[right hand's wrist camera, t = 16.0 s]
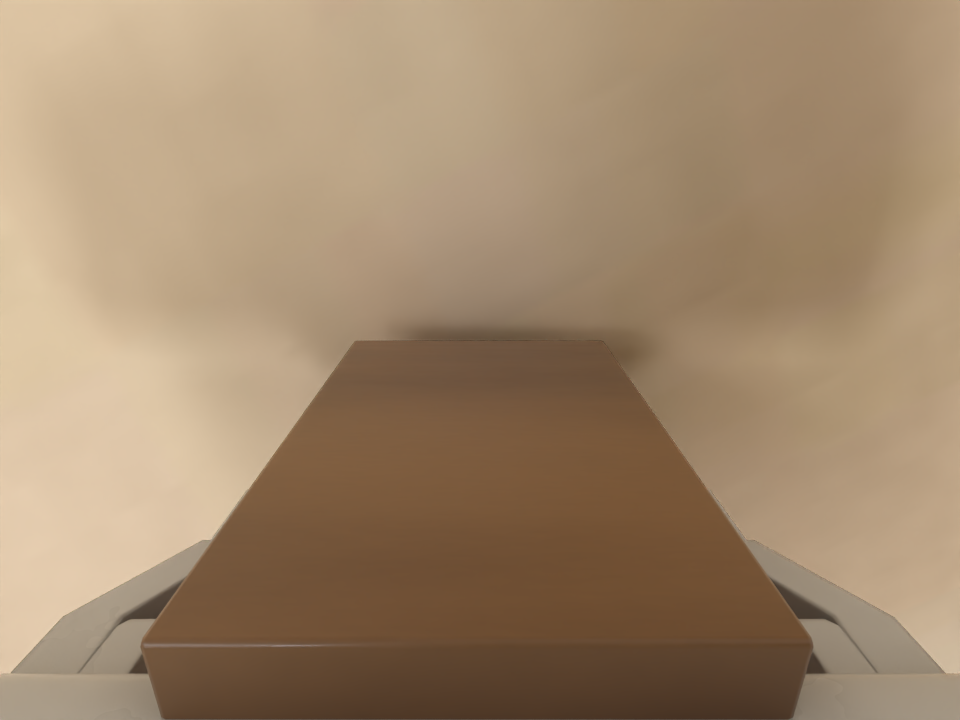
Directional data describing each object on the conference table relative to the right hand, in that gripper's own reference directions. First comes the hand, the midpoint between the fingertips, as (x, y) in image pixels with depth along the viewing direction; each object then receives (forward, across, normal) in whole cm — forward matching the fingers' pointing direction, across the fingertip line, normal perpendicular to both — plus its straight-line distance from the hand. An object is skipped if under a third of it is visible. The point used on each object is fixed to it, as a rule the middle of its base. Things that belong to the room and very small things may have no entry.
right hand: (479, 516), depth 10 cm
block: (+3, 0, -8) cm, 9 cm away
